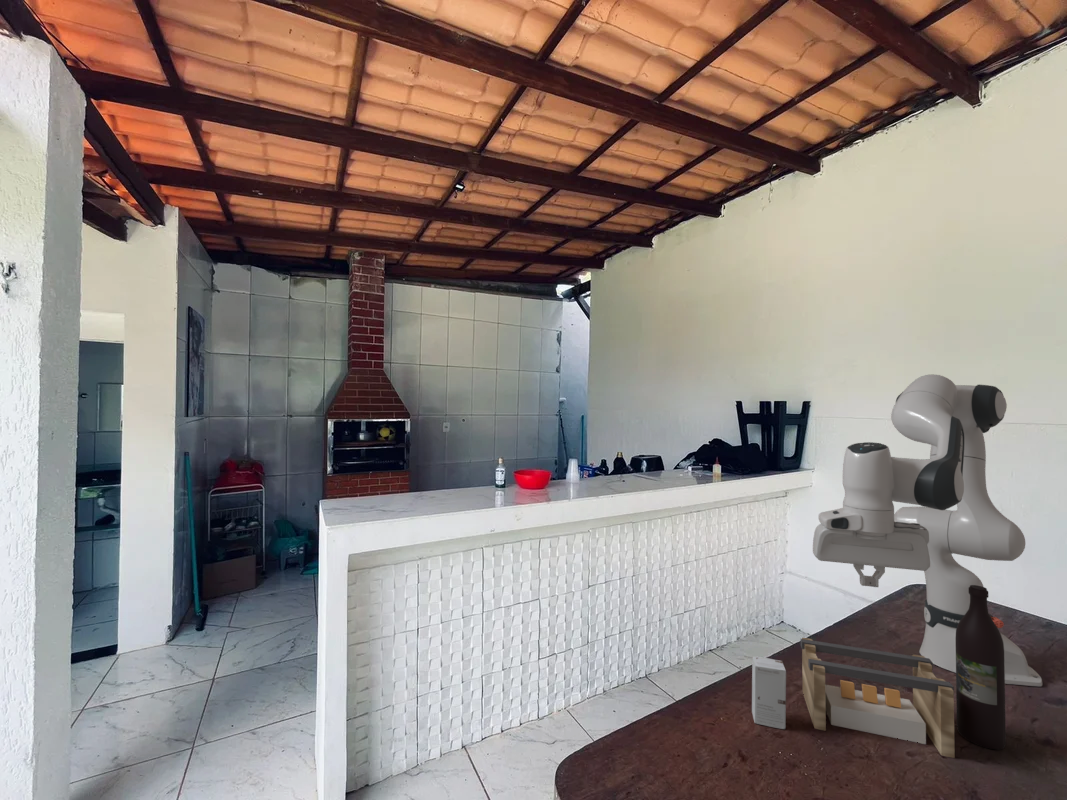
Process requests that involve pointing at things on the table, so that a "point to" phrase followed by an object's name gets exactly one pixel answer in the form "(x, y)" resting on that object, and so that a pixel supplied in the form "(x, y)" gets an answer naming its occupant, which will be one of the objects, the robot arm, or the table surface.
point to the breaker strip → (874, 716)
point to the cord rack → (927, 703)
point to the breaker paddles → (870, 693)
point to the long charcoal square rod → (866, 653)
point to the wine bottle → (980, 675)
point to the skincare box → (769, 692)
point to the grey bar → (880, 676)
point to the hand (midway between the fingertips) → (869, 585)
